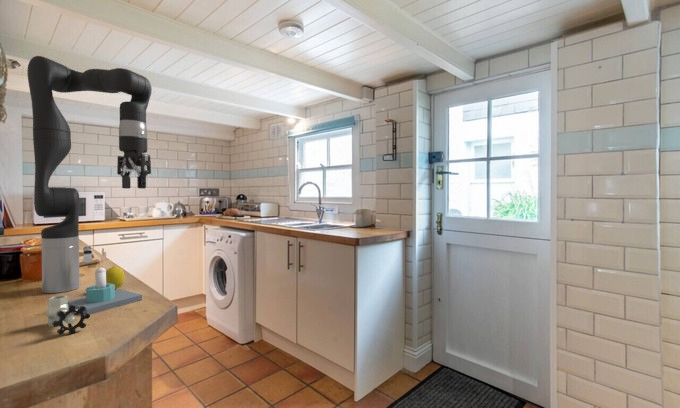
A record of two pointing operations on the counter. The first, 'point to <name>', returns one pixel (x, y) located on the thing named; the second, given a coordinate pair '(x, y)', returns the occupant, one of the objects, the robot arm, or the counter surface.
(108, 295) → the collar
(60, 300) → the valve
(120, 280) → the lemon
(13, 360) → the counter surface
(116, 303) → the post stand
